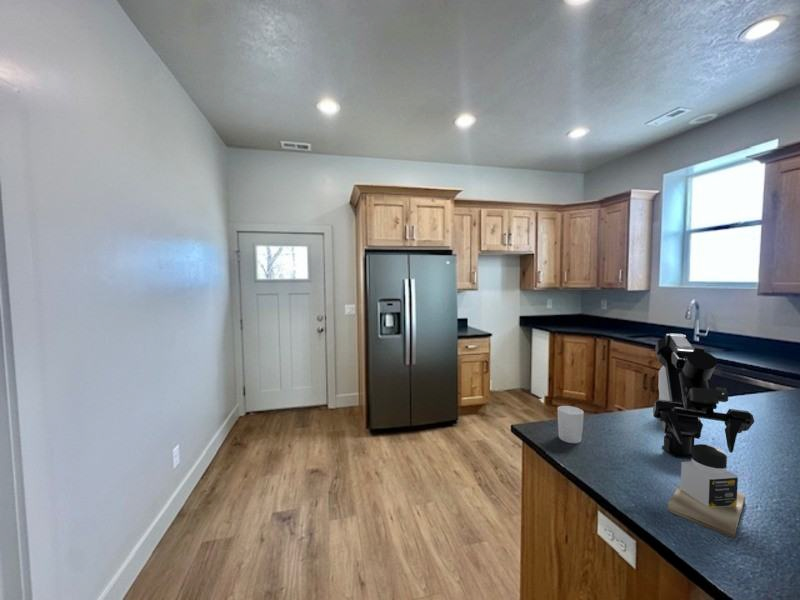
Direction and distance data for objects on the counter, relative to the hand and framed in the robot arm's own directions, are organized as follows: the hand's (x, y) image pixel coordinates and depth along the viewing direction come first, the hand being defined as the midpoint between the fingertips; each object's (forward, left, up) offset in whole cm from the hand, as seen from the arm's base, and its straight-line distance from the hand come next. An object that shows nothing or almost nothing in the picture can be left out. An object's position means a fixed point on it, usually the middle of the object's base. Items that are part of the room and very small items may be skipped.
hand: (705, 447), depth 82 cm
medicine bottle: (+1, +3, -11) cm, 11 cm away
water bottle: (-25, -54, -13) cm, 61 cm away
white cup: (+20, -30, -13) cm, 39 cm away
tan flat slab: (+1, +3, -13) cm, 13 cm away
